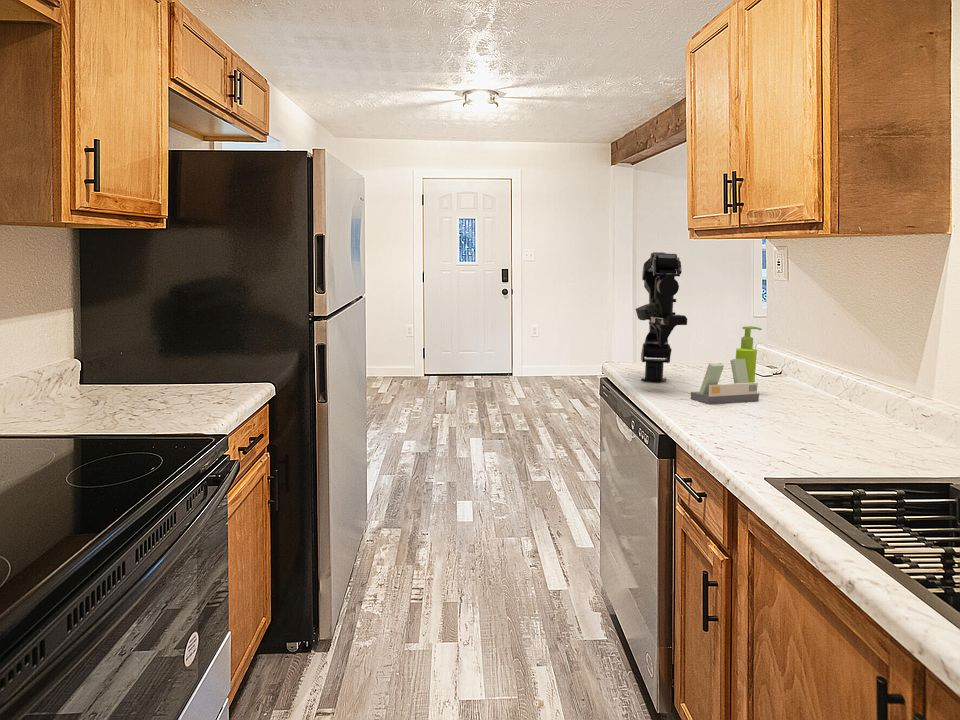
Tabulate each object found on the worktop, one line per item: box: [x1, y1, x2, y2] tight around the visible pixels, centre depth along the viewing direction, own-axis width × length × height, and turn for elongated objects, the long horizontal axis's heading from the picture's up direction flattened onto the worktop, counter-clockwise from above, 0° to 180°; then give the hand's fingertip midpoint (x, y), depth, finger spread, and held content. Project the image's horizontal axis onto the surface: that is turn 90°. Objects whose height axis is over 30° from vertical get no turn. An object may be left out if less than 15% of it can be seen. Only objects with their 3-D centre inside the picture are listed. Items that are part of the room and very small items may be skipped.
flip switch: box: [699, 362, 725, 394], centre depth 228 cm, size 2×4×9 cm, turn 114°
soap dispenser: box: [735, 326, 763, 383], centre depth 245 cm, size 6×7×20 cm
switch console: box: [690, 381, 760, 405], centre depth 233 cm, size 8×18×5 cm, turn 113°
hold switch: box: [730, 358, 749, 384], centre depth 236 cm, size 2×4×9 cm, turn 113°
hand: (661, 346), depth 249 cm, fingers closed
